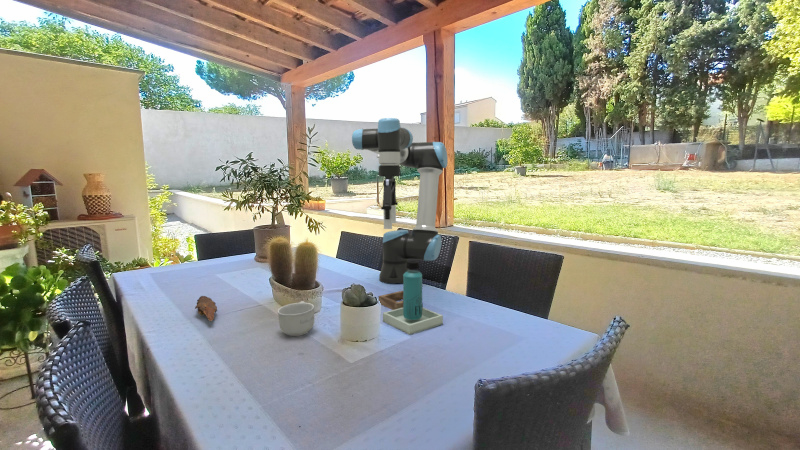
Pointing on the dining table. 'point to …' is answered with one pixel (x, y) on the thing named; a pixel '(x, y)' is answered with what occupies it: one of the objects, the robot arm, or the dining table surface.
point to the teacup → (296, 318)
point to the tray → (412, 321)
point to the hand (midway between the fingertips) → (390, 225)
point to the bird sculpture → (206, 307)
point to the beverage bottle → (412, 292)
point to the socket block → (392, 300)
